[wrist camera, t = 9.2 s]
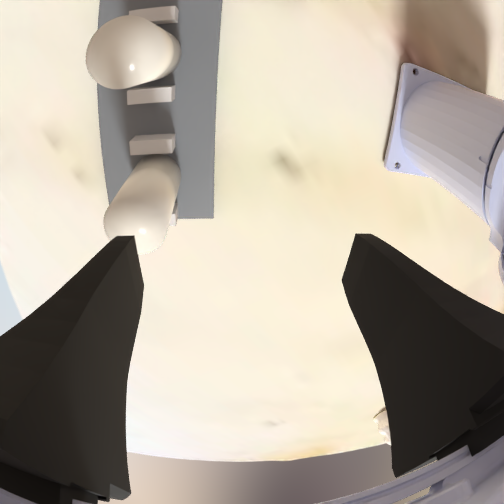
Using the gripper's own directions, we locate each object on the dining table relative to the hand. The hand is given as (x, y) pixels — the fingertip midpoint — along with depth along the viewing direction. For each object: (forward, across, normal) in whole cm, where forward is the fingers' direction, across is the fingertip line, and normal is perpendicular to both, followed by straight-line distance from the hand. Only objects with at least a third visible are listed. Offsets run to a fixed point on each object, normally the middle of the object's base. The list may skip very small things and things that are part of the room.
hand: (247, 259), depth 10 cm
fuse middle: (+10, +4, -7) cm, 13 cm away
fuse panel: (+10, +4, -7) cm, 13 cm away
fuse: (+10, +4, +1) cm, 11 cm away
